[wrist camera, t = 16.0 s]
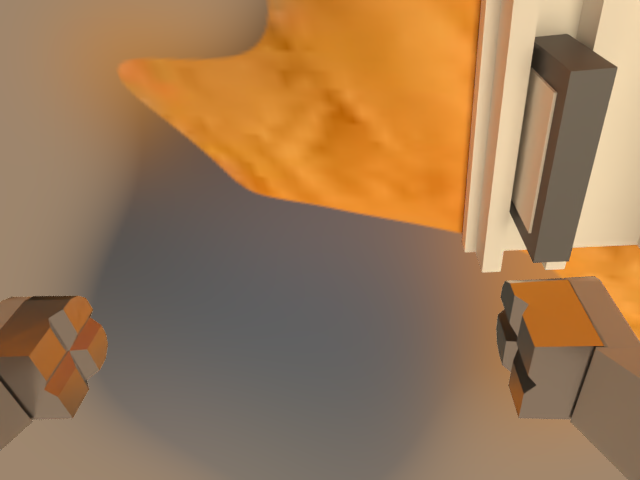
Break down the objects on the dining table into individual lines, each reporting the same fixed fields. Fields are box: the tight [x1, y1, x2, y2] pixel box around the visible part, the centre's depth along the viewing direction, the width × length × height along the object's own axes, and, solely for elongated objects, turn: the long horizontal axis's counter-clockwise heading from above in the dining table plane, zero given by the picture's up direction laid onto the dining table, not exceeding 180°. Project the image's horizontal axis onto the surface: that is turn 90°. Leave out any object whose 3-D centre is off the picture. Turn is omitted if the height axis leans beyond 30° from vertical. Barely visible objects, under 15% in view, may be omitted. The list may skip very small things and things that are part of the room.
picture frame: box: [509, 34, 618, 263], centre depth 34 cm, size 14×3×8 cm, turn 6°
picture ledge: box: [462, 0, 640, 272], centre depth 31 cm, size 24×17×18 cm
